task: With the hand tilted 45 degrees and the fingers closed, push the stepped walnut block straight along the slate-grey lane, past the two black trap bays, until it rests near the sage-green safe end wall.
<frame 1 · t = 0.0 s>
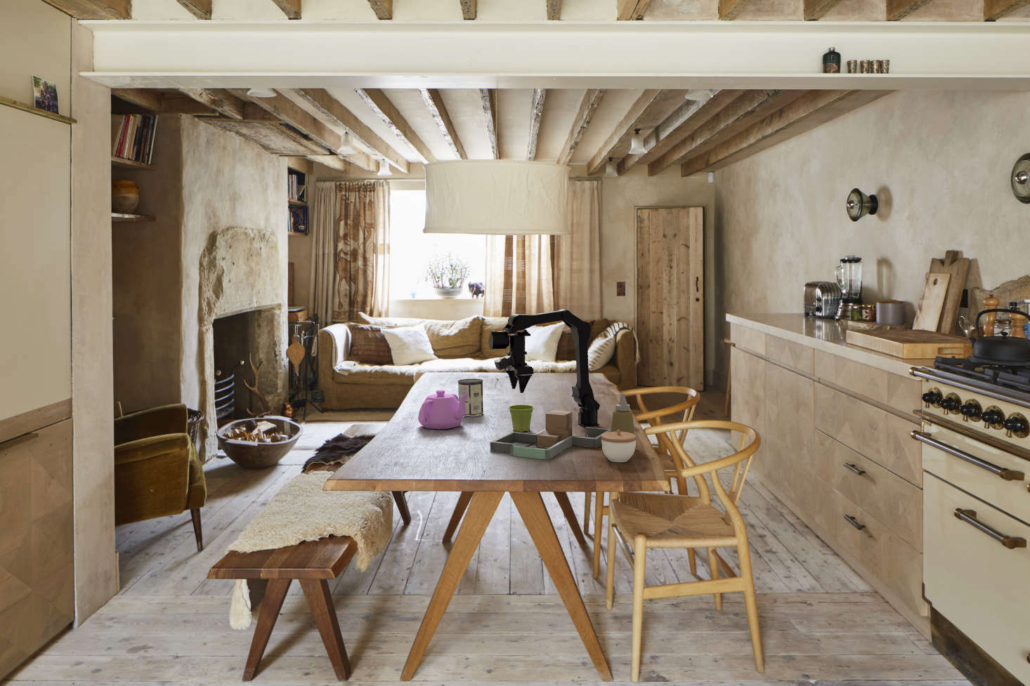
hand: (517, 391, 256), 15 cm above the table, tool pointing down, fingers open, 9 cm apart
plant pot: (521, 430, 258), on the table
teapot: (446, 427, 264), on the table
walnut block: (555, 443, 238), resting in trap lane
lidded jar: (618, 460, 216), on the table
squeeze bottle: (622, 448, 231), on the table
coffee can: (470, 414, 288), on the table
trap lane: (555, 443, 238), on the table
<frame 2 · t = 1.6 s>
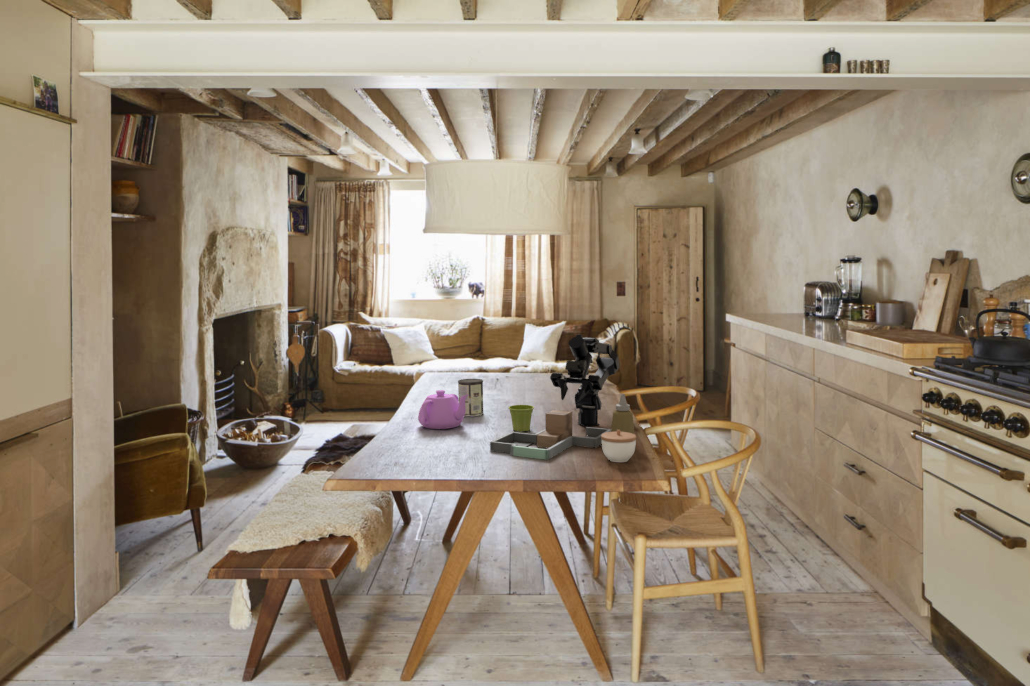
hand: (570, 400, 249), 13 cm above the table, tool tilted 45°, fingers open, 6 cm apart
nothing on the table moved.
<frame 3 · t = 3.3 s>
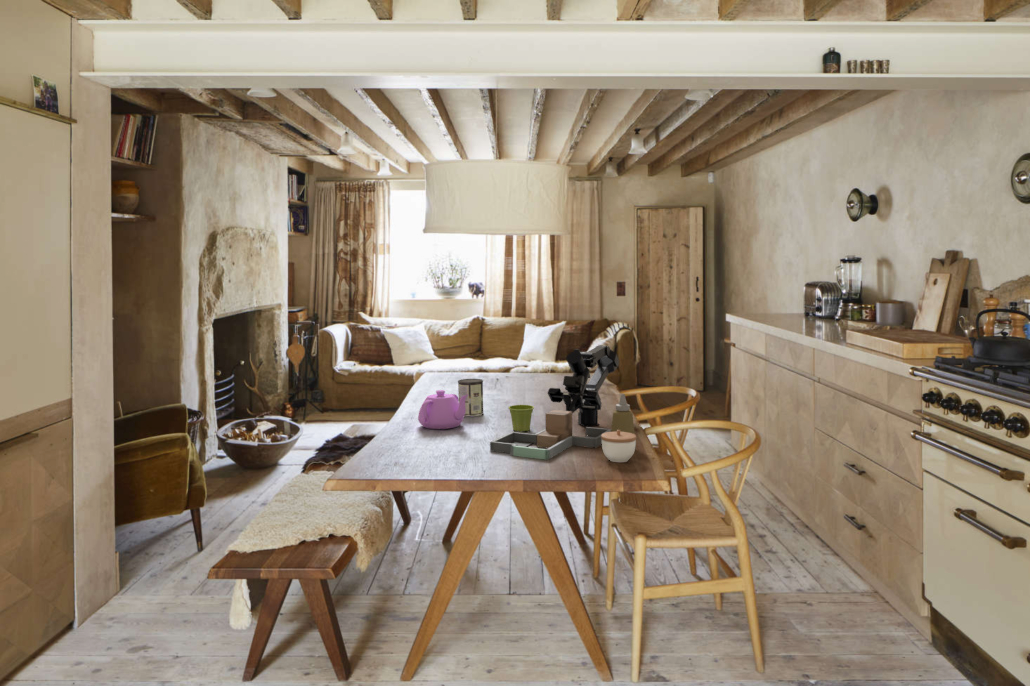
hand: (567, 415, 247), 7 cm above the table, tool tilted 45°, fingers closed
nothing on the table moved.
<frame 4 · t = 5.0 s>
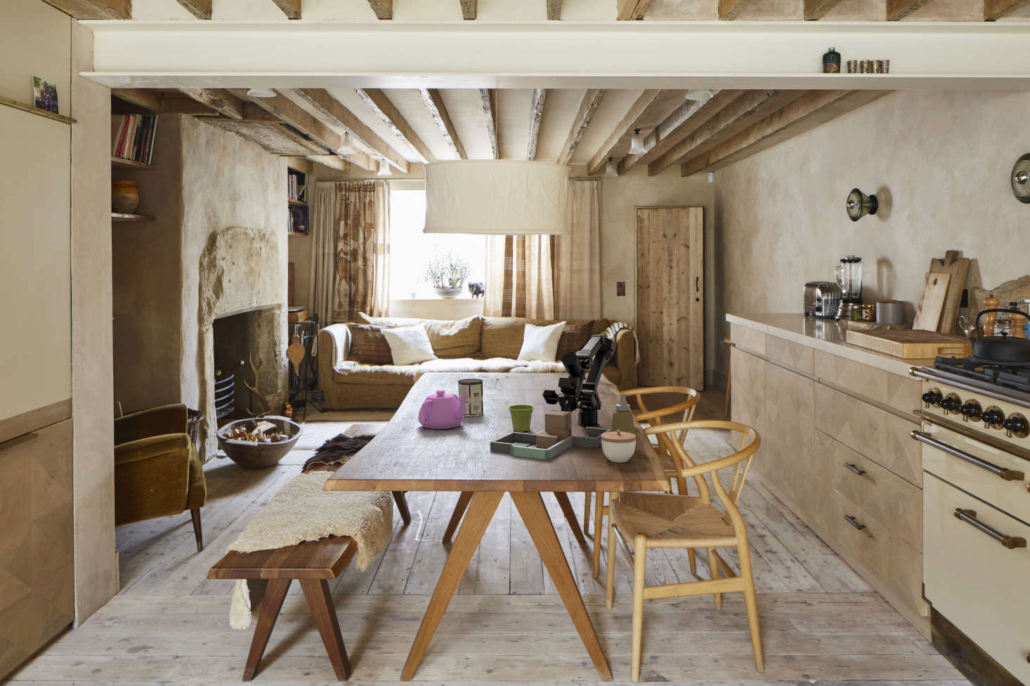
hand: (562, 418, 243), 7 cm above the table, tool tilted 45°, fingers closed, pressing on walnut block
walnut block: (554, 443, 237), resting in trap lane, touching gripper
everything else where it was.
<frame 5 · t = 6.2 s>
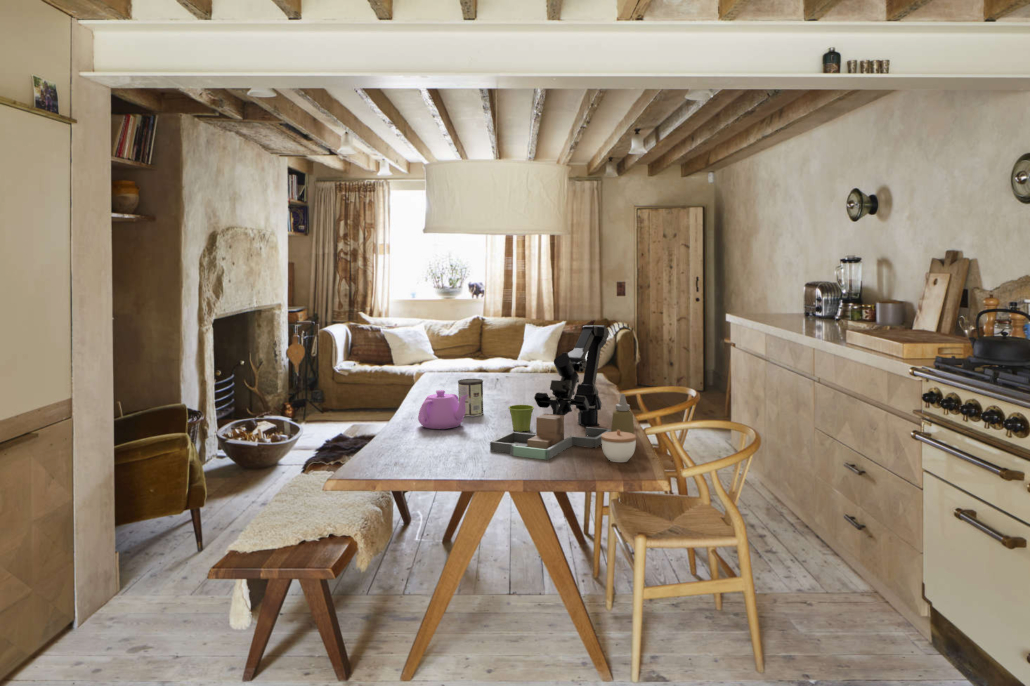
hand: (554, 421, 237), 7 cm above the table, tool tilted 45°, fingers closed, pressing on walnut block
walnut block: (546, 448, 231), resting in trap lane, touching gripper
everything else where it was.
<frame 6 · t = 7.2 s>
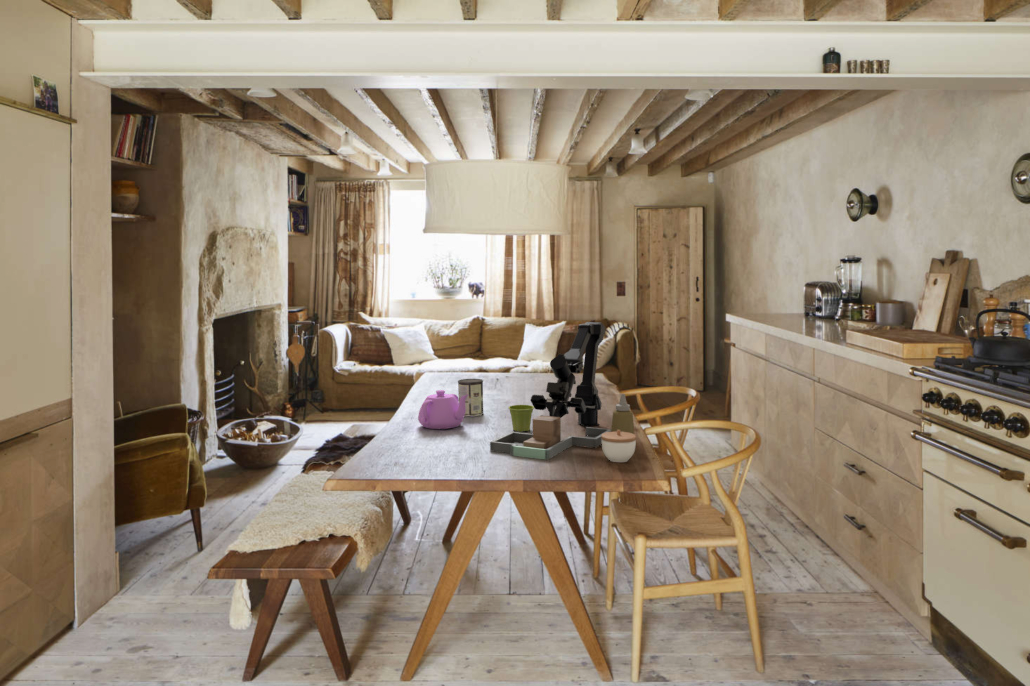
hand: (551, 424, 234), 7 cm above the table, tool tilted 45°, fingers closed, pressing on walnut block
walnut block: (542, 450, 229), resting in trap lane, touching gripper
everything else where it was.
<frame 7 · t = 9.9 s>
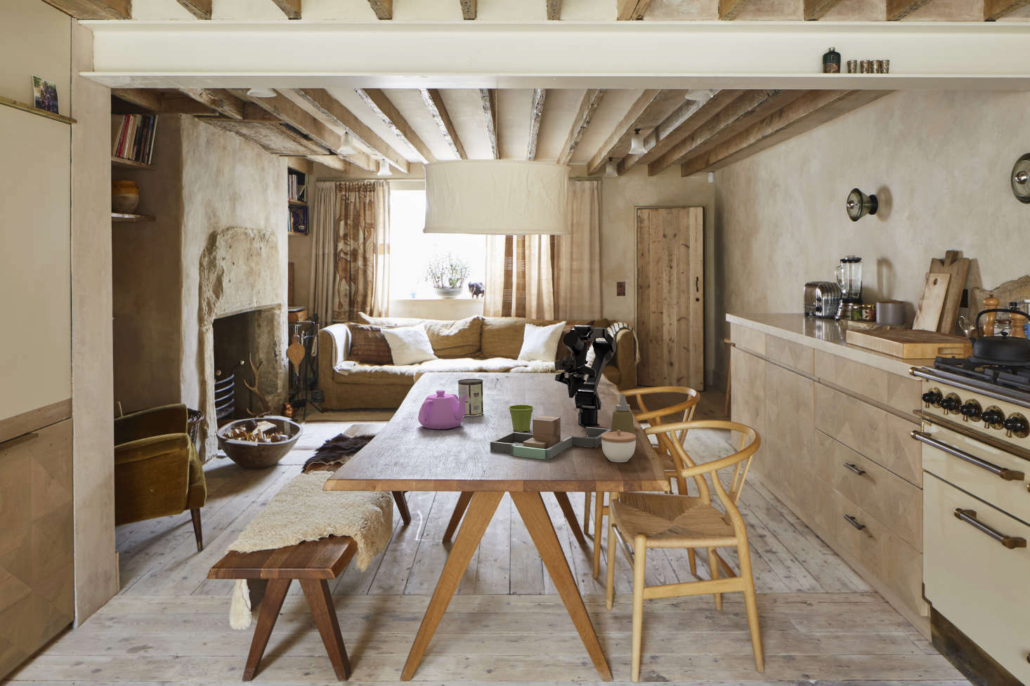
hand: (570, 397, 249), 13 cm above the table, tool tilted 30°, fingers closed
walnut block: (542, 450, 229), resting in trap lane
everything else where it was.
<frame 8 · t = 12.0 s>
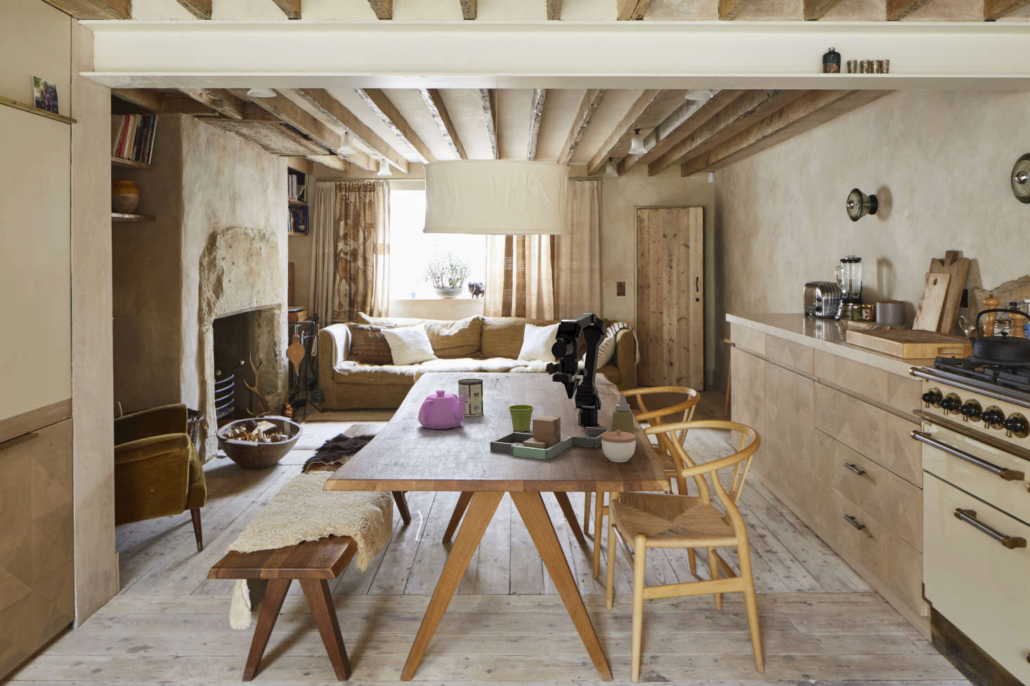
hand: (570, 398, 249), 13 cm above the table, tool pointing down, fingers closed
nothing on the table moved.
at the end: walnut block 0.1 cm from the target spot, resting in trap lane; walnut block tilted 0°; walnut block moved 10.5 cm from its start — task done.
